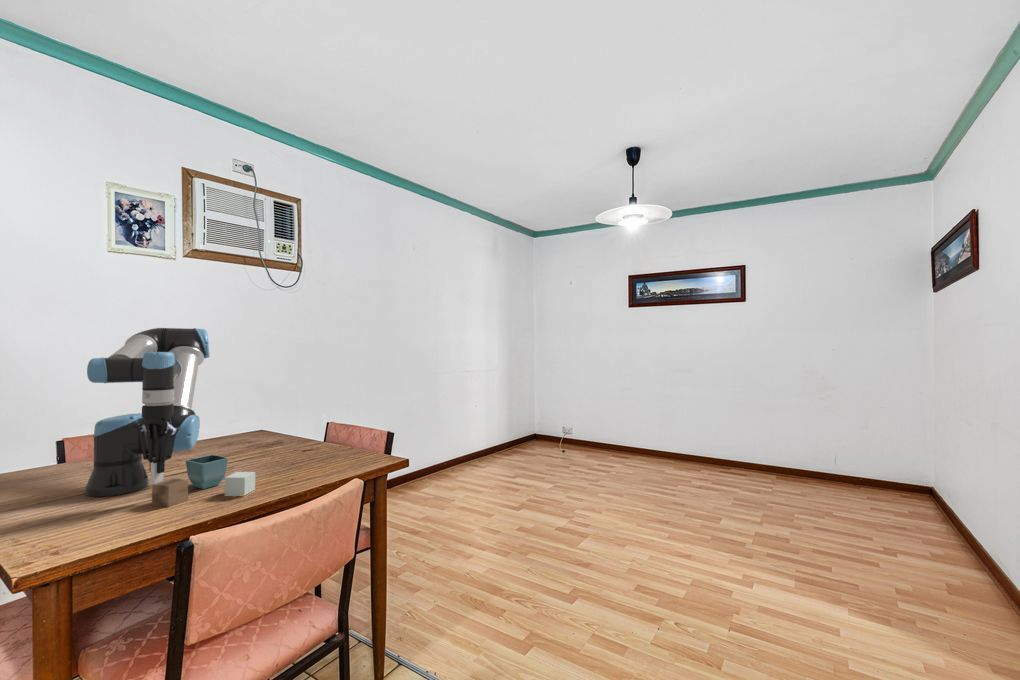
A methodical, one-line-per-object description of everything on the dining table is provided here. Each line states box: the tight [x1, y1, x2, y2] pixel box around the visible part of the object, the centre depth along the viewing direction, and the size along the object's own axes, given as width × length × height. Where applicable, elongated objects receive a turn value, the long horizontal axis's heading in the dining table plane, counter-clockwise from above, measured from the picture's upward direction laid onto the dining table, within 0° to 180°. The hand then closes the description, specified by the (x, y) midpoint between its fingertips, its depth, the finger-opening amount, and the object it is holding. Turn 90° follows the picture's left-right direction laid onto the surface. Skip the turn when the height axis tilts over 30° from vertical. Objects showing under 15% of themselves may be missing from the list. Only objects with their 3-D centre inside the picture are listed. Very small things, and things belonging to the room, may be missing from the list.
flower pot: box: [185, 454, 229, 490], centre depth 149 cm, size 9×9×9 cm
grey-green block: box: [224, 471, 256, 497], centre depth 142 cm, size 6×6×6 cm
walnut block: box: [151, 478, 189, 508], centre depth 133 cm, size 6×6×6 cm
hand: (156, 483), depth 134 cm, fingers closed
